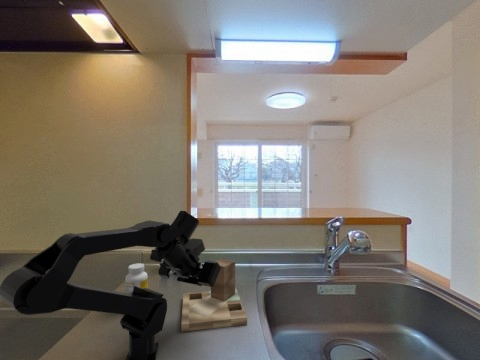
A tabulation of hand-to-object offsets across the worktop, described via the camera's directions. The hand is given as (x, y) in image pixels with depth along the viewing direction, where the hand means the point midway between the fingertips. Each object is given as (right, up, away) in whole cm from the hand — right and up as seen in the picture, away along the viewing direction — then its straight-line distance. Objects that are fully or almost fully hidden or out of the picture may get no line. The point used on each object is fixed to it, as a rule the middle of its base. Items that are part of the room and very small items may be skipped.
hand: (201, 284), depth 76 cm
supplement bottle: (-22, -9, +5) cm, 24 cm away
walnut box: (+6, -7, +7) cm, 12 cm away
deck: (+3, -9, +2) cm, 10 cm away
